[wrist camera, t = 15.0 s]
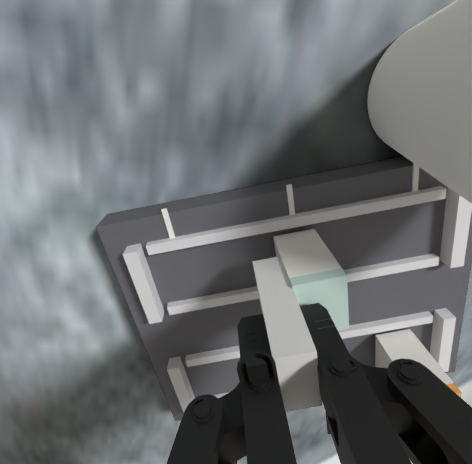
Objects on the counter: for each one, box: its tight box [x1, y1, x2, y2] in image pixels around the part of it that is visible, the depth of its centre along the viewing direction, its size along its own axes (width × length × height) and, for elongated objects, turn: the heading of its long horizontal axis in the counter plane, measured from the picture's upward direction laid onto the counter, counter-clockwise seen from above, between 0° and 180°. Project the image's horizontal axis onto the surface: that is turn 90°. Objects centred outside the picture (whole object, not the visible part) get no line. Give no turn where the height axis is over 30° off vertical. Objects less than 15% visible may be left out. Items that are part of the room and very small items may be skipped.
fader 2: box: [375, 329, 461, 398], centre depth 20 cm, size 2×3×5 cm
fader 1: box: [273, 229, 349, 331], centre depth 16 cm, size 2×3×5 cm
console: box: [96, 156, 472, 421], centre depth 21 cm, size 22×18×3 cm
